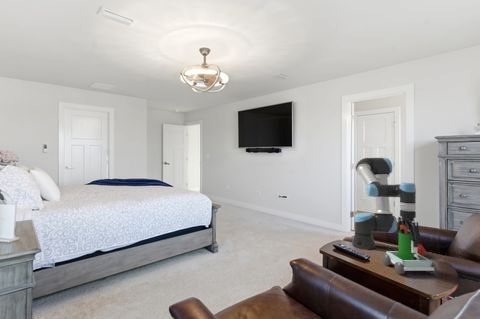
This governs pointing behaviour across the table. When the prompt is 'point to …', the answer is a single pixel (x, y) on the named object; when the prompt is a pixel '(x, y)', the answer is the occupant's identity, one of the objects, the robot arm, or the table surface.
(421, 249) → the pomegranate
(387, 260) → the chassis
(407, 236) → the motor
